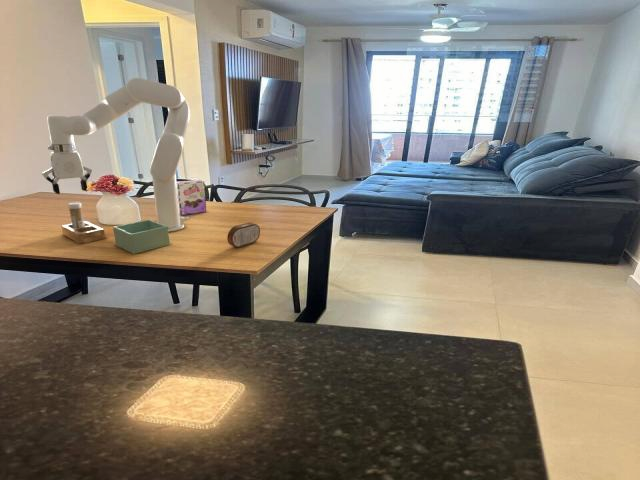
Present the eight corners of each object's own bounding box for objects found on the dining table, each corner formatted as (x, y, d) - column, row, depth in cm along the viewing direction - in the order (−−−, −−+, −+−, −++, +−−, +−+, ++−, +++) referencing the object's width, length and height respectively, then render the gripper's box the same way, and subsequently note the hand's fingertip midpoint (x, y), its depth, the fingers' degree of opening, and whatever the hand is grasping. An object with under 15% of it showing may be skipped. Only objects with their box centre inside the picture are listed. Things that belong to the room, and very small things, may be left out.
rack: (87, 229, 166) (86, 221, 164) (105, 238, 155) (104, 229, 154) (63, 234, 159) (61, 225, 157) (80, 244, 148) (78, 234, 147)
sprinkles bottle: (86, 235, 159) (81, 203, 155) (74, 236, 156) (67, 205, 152) (86, 232, 162) (80, 201, 158) (73, 233, 160) (67, 202, 156)
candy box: (180, 216, 191) (177, 183, 185) (176, 213, 195) (173, 181, 190) (206, 212, 199) (204, 180, 194) (202, 209, 203) (200, 179, 198)
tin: (256, 239, 159) (255, 219, 156) (261, 241, 157) (261, 221, 154) (227, 248, 148) (226, 227, 145) (232, 250, 146) (231, 229, 143)
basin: (151, 236, 159) (148, 219, 157) (169, 244, 150) (167, 226, 148) (115, 245, 148) (112, 226, 146) (133, 253, 140) (131, 234, 137)
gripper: (41, 150, 140) (49, 196, 145) (91, 148, 152) (98, 190, 158) (34, 148, 144) (42, 193, 149) (84, 146, 157) (90, 188, 162)
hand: (71, 191), depth 154 cm, fingers open, 9 cm apart
